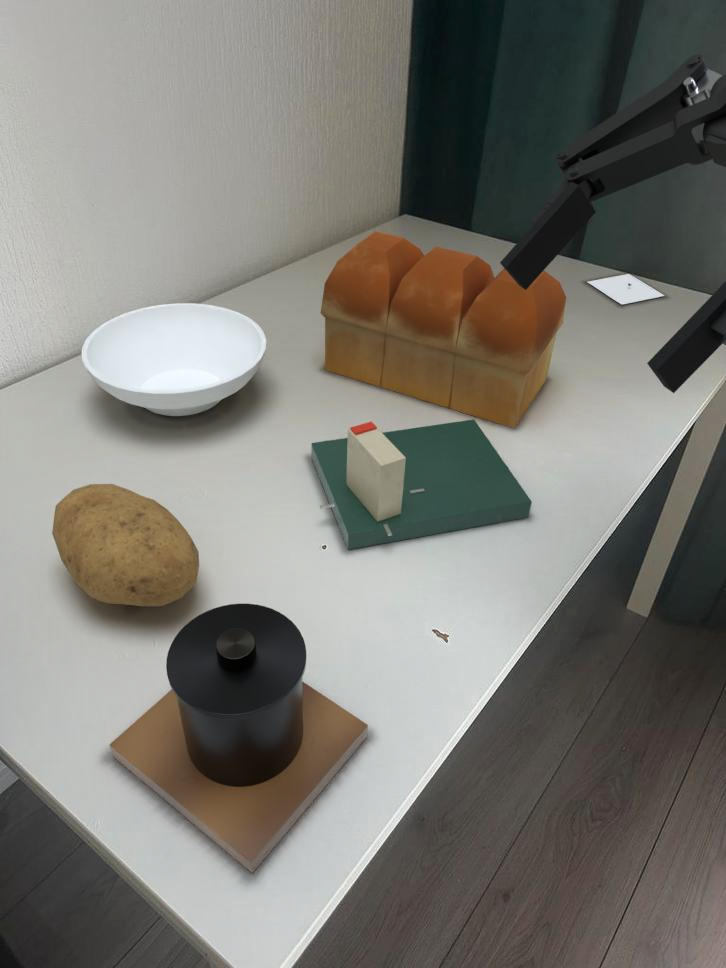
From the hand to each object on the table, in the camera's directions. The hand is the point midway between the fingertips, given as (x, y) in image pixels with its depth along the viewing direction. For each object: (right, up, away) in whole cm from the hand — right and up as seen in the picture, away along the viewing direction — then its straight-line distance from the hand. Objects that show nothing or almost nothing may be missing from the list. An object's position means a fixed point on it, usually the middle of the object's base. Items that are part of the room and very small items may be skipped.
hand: (578, 323), depth 46 cm
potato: (-32, -18, +20) cm, 42 cm away
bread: (-4, +4, +48) cm, 48 cm away
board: (-21, -28, +8) cm, 36 cm away
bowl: (-33, 0, +42) cm, 54 cm away
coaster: (+26, +19, +68) cm, 75 cm away
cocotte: (-21, -27, +8) cm, 35 cm away
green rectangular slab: (-8, -10, +31) cm, 34 cm away
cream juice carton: (-12, -11, +26) cm, 31 cm away
